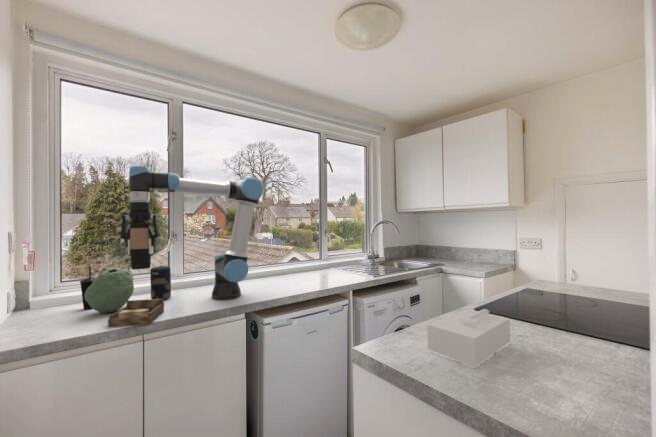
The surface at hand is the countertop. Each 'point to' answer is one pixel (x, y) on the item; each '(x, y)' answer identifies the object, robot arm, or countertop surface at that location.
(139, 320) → the wooden tray
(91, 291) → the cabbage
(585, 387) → the countertop surface
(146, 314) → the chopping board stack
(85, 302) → the drinking cup
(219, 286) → the robot arm
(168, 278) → the canister
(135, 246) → the travel mug
